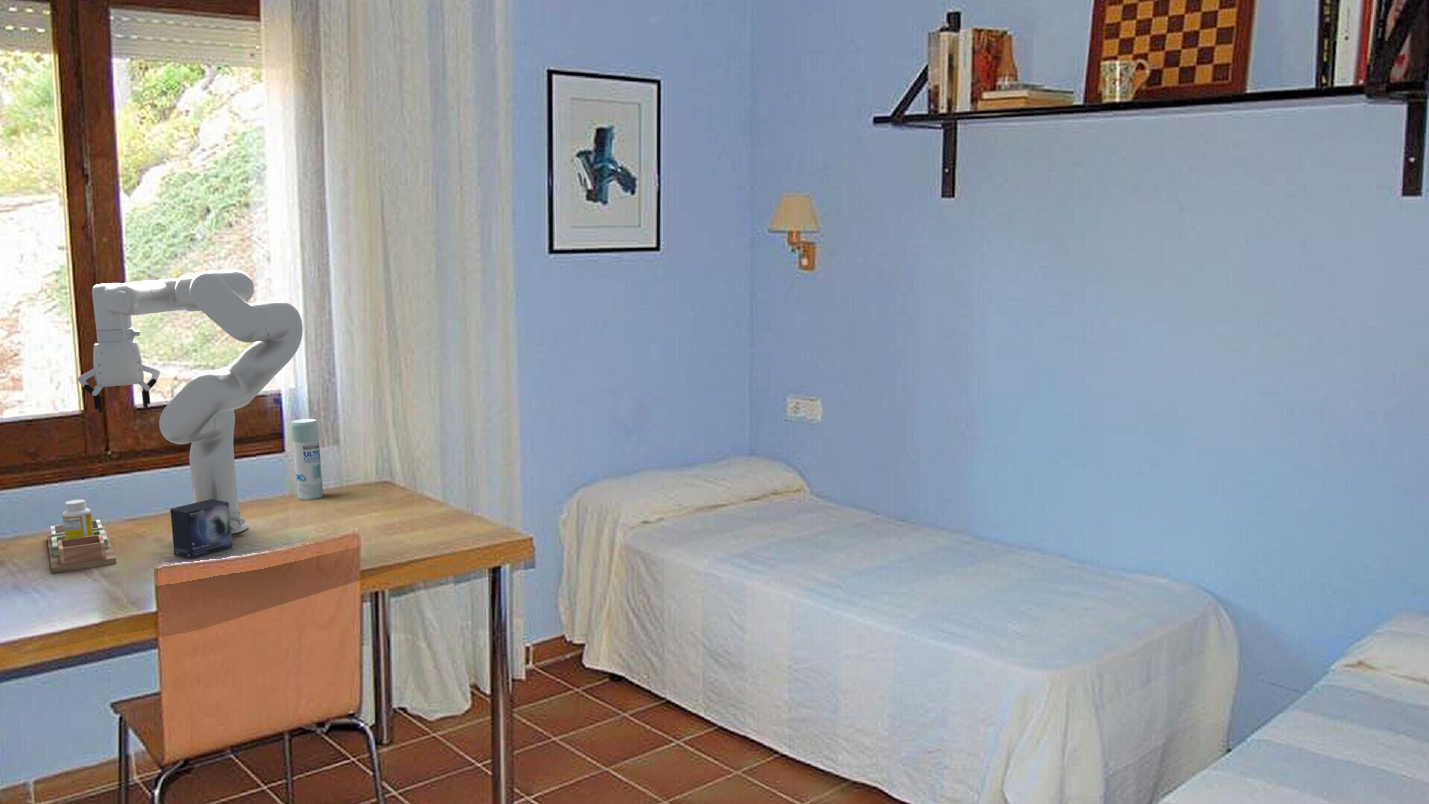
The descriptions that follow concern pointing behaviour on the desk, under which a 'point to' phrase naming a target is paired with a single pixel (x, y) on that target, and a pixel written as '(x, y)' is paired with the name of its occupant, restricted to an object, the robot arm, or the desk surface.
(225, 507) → the small box
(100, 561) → the board
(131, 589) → the desk surface
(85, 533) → the supplement bottle
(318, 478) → the spray paint can
